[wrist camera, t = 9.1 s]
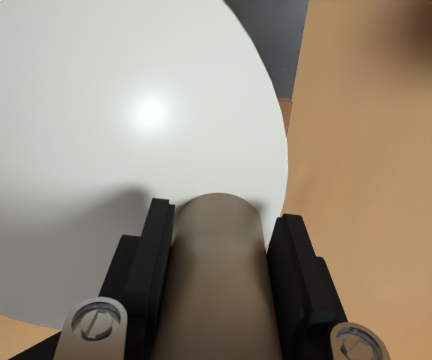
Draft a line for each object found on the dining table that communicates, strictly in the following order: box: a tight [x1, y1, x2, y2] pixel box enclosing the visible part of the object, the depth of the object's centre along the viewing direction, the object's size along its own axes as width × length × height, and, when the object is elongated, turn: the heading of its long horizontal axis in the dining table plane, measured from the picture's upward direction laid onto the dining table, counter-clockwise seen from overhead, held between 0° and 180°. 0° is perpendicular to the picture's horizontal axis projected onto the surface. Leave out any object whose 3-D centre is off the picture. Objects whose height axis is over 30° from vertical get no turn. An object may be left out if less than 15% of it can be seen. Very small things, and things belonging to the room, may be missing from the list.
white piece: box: [0, 0, 288, 360], centre depth 10 cm, size 16×16×9 cm
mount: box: [224, 0, 309, 137], centre depth 17 cm, size 18×18×6 cm
